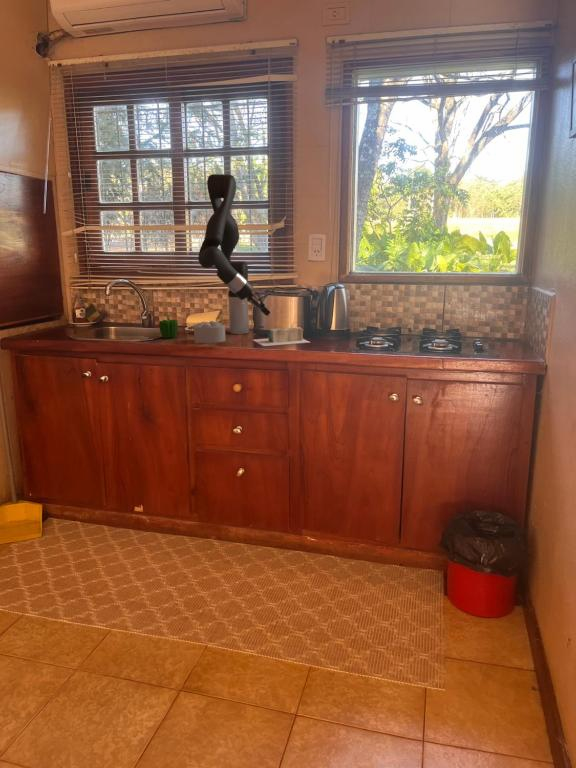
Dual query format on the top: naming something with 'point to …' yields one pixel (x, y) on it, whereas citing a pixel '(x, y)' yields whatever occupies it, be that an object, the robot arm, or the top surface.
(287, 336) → the maple block
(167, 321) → the bell pepper
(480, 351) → the top surface
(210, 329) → the lumpy-topped squat cylinder
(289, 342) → the grey mat
